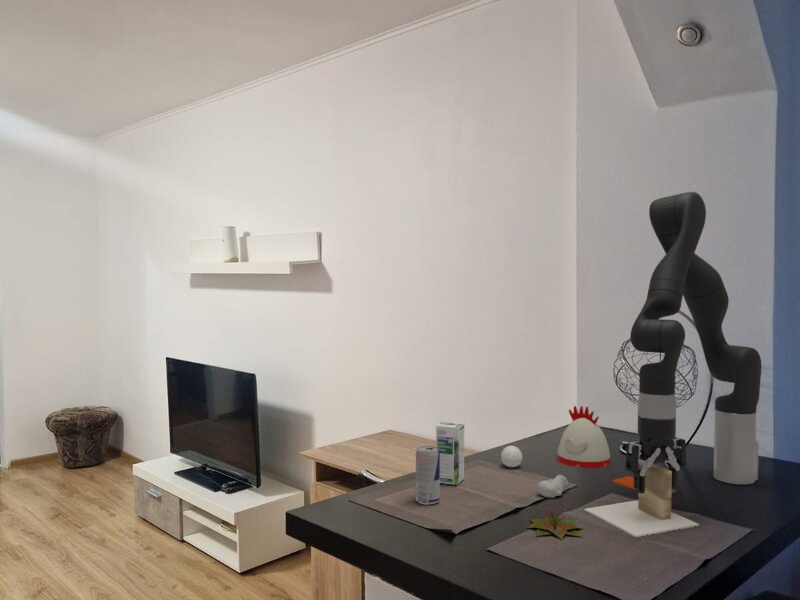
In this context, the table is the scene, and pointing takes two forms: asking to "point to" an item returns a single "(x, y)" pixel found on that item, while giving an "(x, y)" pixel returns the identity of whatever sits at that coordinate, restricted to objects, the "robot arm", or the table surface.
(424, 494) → the energy drink
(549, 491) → the smooth white sculpture
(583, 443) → the kitchen timer
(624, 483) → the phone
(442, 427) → the syrup box
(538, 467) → the table surface
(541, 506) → the table surface
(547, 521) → the lily flower
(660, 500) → the slab
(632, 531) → the mat
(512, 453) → the seamed sphere
